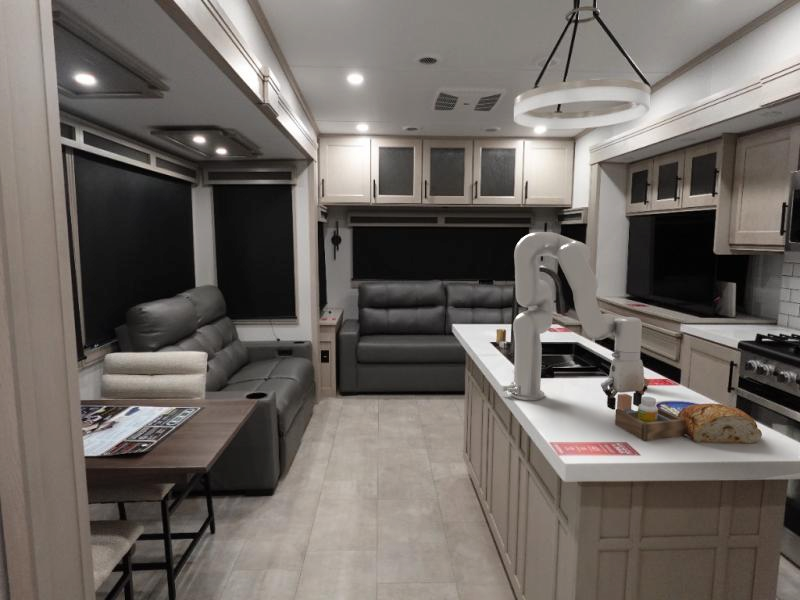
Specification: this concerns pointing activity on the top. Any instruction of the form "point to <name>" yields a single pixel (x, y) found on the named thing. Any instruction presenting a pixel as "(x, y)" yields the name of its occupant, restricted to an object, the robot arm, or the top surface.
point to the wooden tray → (651, 426)
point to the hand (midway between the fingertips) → (624, 407)
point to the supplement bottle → (648, 410)
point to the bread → (719, 424)
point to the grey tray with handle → (625, 405)
